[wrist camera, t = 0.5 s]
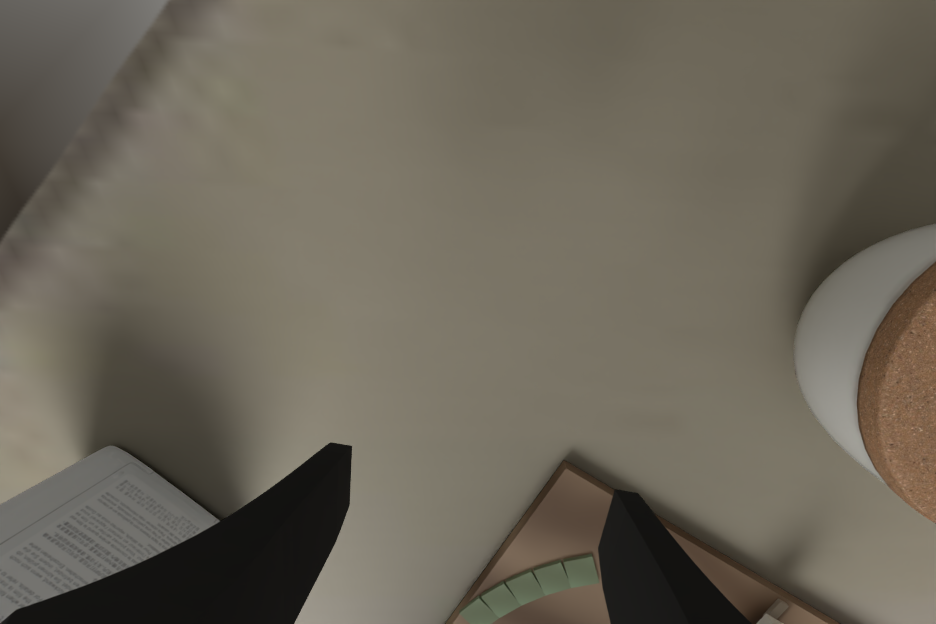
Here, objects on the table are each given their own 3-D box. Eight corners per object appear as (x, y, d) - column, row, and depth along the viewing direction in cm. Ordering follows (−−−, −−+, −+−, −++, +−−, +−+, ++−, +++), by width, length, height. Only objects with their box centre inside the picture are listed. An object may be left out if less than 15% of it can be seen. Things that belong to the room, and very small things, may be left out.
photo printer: (75, 482, 26) (-301, 710, 14) (109, 429, 25) (-262, 625, 13) (221, 586, 27) (-17, 892, 14) (259, 538, 26) (39, 822, 14)
